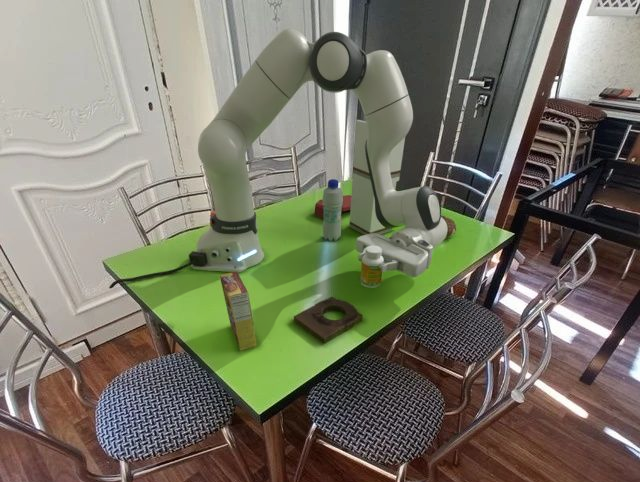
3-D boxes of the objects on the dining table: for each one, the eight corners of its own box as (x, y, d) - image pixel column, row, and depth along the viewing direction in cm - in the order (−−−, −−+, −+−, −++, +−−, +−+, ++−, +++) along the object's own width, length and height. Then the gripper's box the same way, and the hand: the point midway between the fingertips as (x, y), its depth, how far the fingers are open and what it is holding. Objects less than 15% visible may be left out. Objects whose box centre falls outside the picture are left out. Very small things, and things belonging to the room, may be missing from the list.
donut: (460, 232, 131) (464, 219, 128) (443, 245, 123) (447, 231, 120) (424, 221, 138) (427, 209, 135) (406, 233, 130) (408, 220, 127)
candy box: (229, 328, 88) (219, 274, 78) (247, 324, 89) (238, 270, 80) (238, 352, 81) (228, 295, 72) (257, 346, 83) (249, 291, 73)
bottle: (339, 243, 124) (342, 183, 111) (320, 241, 125) (320, 182, 112) (342, 235, 129) (345, 177, 116) (324, 233, 130) (324, 175, 117)
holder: (324, 344, 83) (324, 338, 82) (293, 321, 90) (292, 315, 89) (366, 319, 91) (366, 313, 90) (334, 299, 98) (334, 294, 96)
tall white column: (392, 230, 132) (407, 122, 110) (369, 238, 127) (380, 126, 105) (371, 220, 139) (381, 116, 118) (349, 226, 134) (356, 120, 113)
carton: (348, 206, 160) (310, 214, 143) (350, 194, 157) (311, 201, 140) (371, 213, 154) (334, 222, 137) (373, 201, 151) (335, 209, 134)
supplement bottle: (366, 290, 92) (369, 255, 86) (356, 279, 96) (358, 246, 90) (384, 285, 94) (389, 251, 88) (374, 275, 98) (377, 242, 92)
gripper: (376, 223, 102) (341, 238, 95) (438, 248, 90) (404, 267, 83) (374, 244, 106) (340, 259, 99) (433, 270, 94) (400, 290, 87)
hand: (370, 263), depth 91 cm, fingers closed on supplement bottle, 5 cm apart
